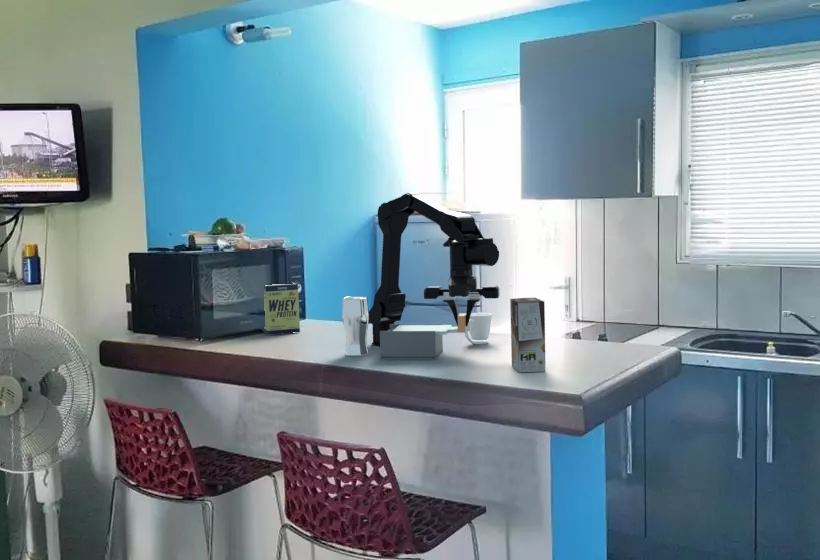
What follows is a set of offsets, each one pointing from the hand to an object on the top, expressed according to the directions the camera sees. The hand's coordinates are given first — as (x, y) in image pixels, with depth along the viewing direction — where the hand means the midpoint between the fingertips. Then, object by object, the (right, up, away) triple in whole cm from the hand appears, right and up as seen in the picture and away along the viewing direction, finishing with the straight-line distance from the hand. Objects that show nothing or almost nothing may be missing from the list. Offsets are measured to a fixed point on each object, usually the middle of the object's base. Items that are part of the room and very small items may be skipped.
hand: (462, 326), depth 204 cm
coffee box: (+14, -9, -19) cm, 25 cm away
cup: (+5, -6, +18) cm, 20 cm away
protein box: (-55, -5, +54) cm, 78 cm away
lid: (-8, -1, +2) cm, 8 cm away
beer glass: (-27, -8, +7) cm, 29 cm away
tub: (-13, -8, +3) cm, 15 cm away
